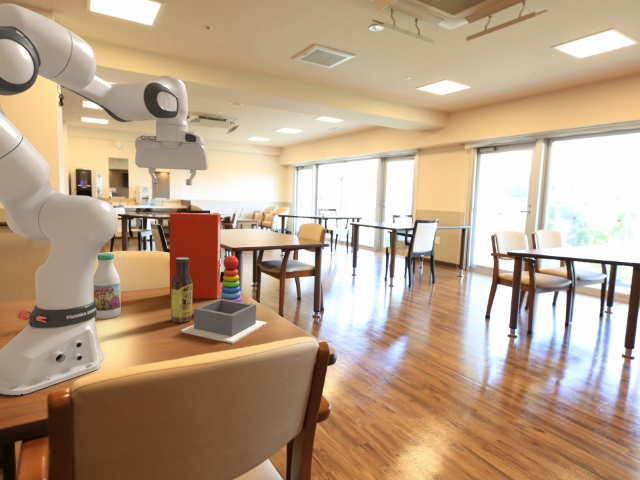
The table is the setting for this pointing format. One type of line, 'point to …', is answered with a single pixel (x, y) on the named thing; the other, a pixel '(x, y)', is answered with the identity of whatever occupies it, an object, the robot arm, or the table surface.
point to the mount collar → (224, 321)
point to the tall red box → (197, 251)
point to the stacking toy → (231, 280)
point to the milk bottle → (107, 288)
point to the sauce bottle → (181, 292)
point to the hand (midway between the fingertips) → (172, 184)
